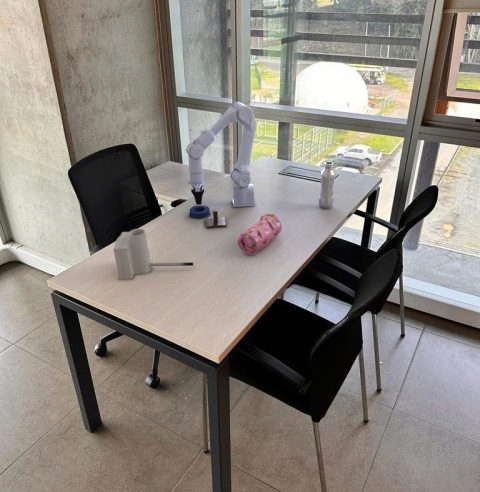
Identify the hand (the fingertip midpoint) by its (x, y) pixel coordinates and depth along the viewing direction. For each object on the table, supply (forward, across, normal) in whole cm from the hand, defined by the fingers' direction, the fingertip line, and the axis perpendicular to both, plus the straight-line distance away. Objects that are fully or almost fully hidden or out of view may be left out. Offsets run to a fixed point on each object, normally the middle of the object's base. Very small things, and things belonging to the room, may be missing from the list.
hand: (198, 201), depth 201 cm
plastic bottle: (+5, +5, +57) cm, 57 cm away
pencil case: (+5, +35, +23) cm, 42 cm away
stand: (+5, +14, +7) cm, 16 cm away
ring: (+5, +3, 0) cm, 6 cm away
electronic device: (+5, +48, -16) cm, 51 cm away
